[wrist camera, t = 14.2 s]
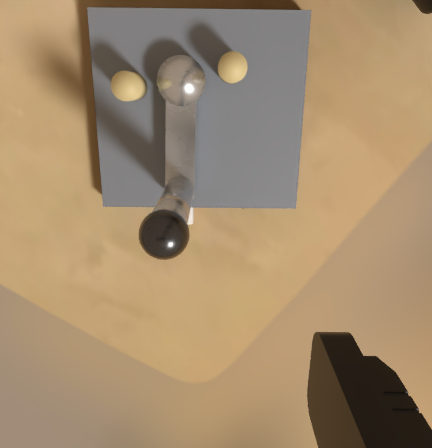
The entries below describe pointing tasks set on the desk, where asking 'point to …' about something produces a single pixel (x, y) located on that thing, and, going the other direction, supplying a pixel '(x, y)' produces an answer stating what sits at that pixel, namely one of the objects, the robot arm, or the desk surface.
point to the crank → (175, 158)
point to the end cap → (424, 5)
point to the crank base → (201, 102)
